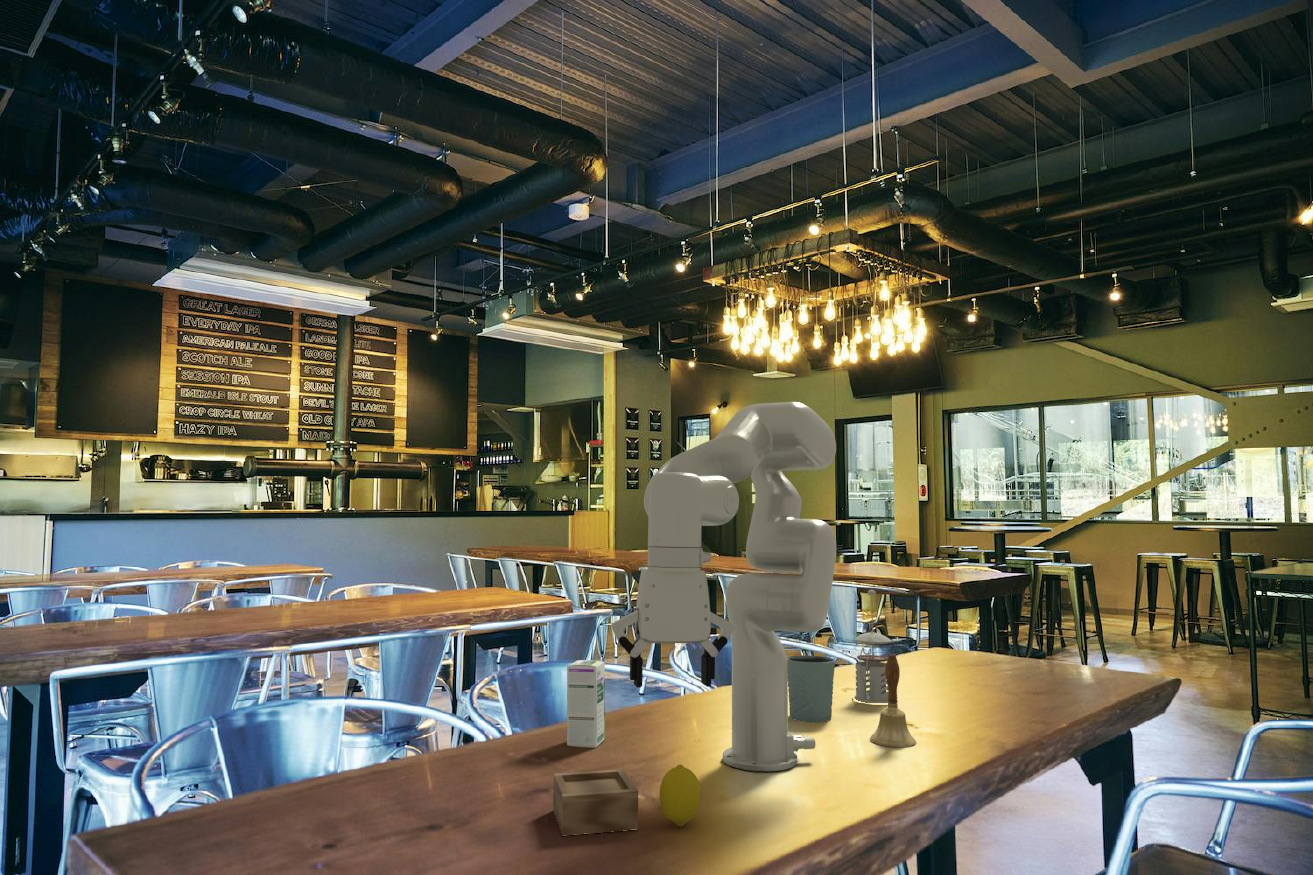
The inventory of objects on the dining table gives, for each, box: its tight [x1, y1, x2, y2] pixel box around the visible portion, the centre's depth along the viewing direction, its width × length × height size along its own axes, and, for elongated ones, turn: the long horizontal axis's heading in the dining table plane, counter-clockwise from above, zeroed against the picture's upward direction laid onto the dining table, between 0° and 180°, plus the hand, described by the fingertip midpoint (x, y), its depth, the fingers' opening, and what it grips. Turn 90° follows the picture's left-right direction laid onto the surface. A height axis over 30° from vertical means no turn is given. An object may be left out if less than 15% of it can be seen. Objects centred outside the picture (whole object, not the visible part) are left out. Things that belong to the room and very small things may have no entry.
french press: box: [853, 589, 892, 703], centre depth 190 cm, size 10×12×25 cm
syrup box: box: [566, 659, 606, 749], centre depth 153 cm, size 6×6×14 cm
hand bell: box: [869, 653, 917, 748], centre depth 156 cm, size 8×8×16 cm
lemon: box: [659, 764, 702, 827], centre depth 112 cm, size 6×6×8 cm
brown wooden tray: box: [552, 768, 639, 836], centre depth 114 cm, size 10×10×5 cm
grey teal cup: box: [787, 654, 836, 723], centre depth 174 cm, size 10×10×12 cm
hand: (672, 685), depth 115 cm, fingers open, 9 cm apart
